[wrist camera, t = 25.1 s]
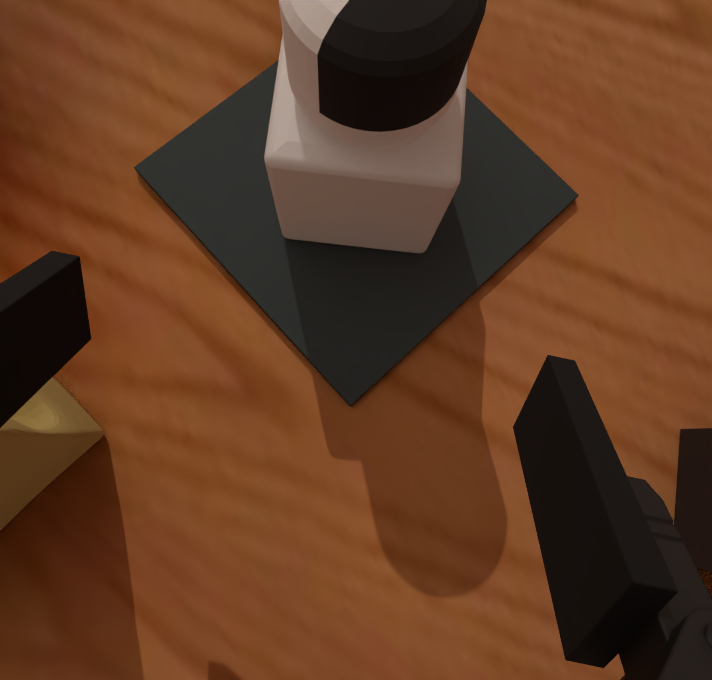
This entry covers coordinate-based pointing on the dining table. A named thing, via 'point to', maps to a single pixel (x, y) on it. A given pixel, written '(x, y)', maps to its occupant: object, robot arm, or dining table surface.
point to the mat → (350, 263)
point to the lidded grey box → (695, 495)
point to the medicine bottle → (369, 119)
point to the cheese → (41, 445)
